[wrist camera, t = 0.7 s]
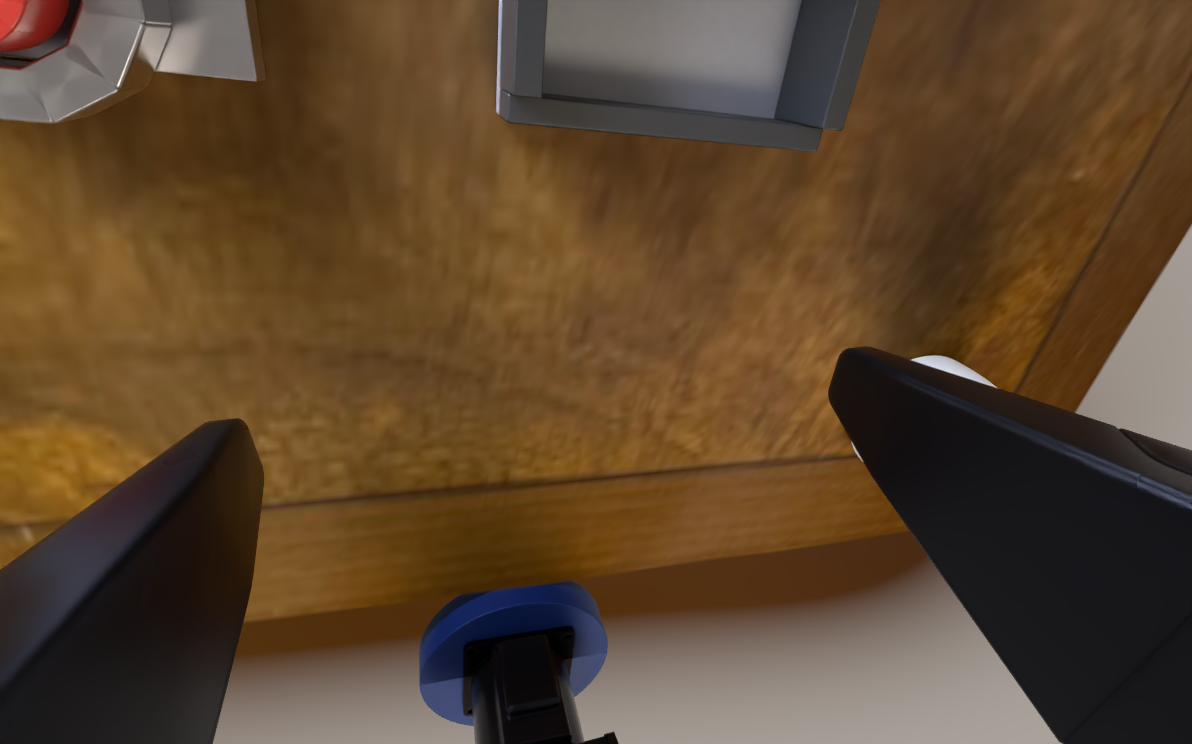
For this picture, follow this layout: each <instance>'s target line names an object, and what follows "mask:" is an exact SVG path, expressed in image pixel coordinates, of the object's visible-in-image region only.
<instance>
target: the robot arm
mask: <svg viewBox="0 0 1192 744" xmlns="http://www.w3.org/2000/svg"><path fill="white" fill-rule="evenodd" d="M828 396H829V401H830V404H831V406H832V408H833V409H834V411H835V413H836V415H837V416H838V418H839V420H840V422H841V423H842V425H843V427H844V429H845V430H846V432H847V434H848V436H849V437H850V439H851V441H852V443H853V445H854V446H855V448H856V450H857V452H858V453H859V455H860V457H861V459H862V460H863V462H864V464H865V466H866V467H867V469H868V471H869V472H870V474H871V476H872V477H873V479H874V480H875V482H876V483H877V485H878V486H879V487H880V489H881V490H882V492H883V493H884V495H885V496H886V497H887V499H888V500H889V502H890V503H891V504H892V506H893V507H894V509H895V510H896V512H897V513H898V514H899V516H900V517H901V519H902V520H903V521H904V523H905V524H906V526H907V527H908V529H909V530H910V531H911V533H912V534H913V535H914V537H915V538H916V540H917V541H918V543H919V544H920V546H921V547H922V548H923V550H924V551H925V552H926V554H927V555H928V557H929V558H930V560H931V561H932V562H933V564H934V565H935V567H936V568H937V569H938V571H939V572H940V574H941V575H942V577H943V578H944V580H945V581H946V582H947V584H948V585H949V586H950V588H951V589H952V591H953V592H954V594H955V595H956V596H957V598H958V599H959V601H960V602H961V603H962V605H963V606H964V608H965V609H966V610H967V612H968V613H969V615H970V616H971V617H972V619H973V620H974V622H975V623H976V625H977V626H978V627H979V629H980V630H981V632H982V633H983V635H984V636H985V637H986V639H987V640H988V642H989V643H990V645H991V646H992V647H993V649H994V650H995V652H996V653H997V654H998V656H999V657H1000V659H1001V660H1002V662H1003V663H1004V664H1005V666H1006V667H1007V669H1008V670H1009V672H1010V673H1011V674H1012V676H1013V677H1014V679H1015V680H1016V681H1017V683H1018V684H1019V686H1020V687H1021V688H1022V690H1023V691H1024V693H1025V694H1026V696H1027V697H1028V698H1029V700H1030V701H1031V702H1032V704H1033V705H1034V707H1035V708H1036V710H1037V711H1038V713H1039V714H1040V715H1041V717H1042V718H1043V720H1044V721H1045V722H1046V724H1047V725H1048V727H1049V728H1050V730H1051V731H1052V732H1053V734H1054V735H1055V737H1056V738H1057V739H1058V741H1059V742H1061V743H1063V744H1192V450H1189V449H1185V448H1182V447H1179V446H1176V445H1173V444H1169V443H1166V442H1163V441H1160V440H1157V439H1153V438H1150V437H1147V436H1144V435H1141V434H1137V433H1134V432H1132V431H1129V430H1125V429H1117V428H1116V427H1115V426H1113V425H1110V424H1107V423H1104V422H1100V421H1097V420H1094V419H1091V418H1088V417H1085V416H1082V415H1079V414H1076V413H1073V412H1070V411H1067V410H1063V409H1060V408H1057V407H1054V406H1051V405H1048V404H1045V403H1042V402H1039V401H1036V400H1033V399H1029V398H1026V397H1023V396H1020V395H1017V394H1014V393H1011V392H1008V391H1005V390H1002V389H999V388H995V387H992V386H989V385H986V384H983V383H980V382H977V381H974V380H971V379H968V378H965V377H961V376H958V375H955V374H952V373H949V372H946V371H943V370H940V369H937V368H934V367H931V366H927V365H924V364H921V363H918V362H915V361H912V360H909V359H906V358H903V357H900V356H897V355H893V354H890V353H887V352H884V351H881V350H878V349H875V348H872V347H865V346H864V347H856V348H848V349H846V350H844V351H843V352H842V353H841V354H840V356H839V358H838V361H837V364H836V367H835V371H834V374H833V377H832V380H831V383H830V386H829V390H828ZM263 487H264V472H263V467H262V464H261V461H260V458H259V455H258V453H257V450H256V447H255V445H254V442H253V439H252V436H251V434H250V431H249V428H248V426H247V425H246V423H245V422H244V421H243V420H241V419H239V418H235V419H226V420H218V421H209V422H206V423H204V424H202V425H201V426H199V427H198V428H197V429H195V430H194V431H192V432H191V433H190V434H188V435H187V436H186V437H184V438H183V439H181V440H180V441H179V442H177V443H176V444H174V445H173V446H172V447H170V448H169V449H167V450H166V451H165V452H163V453H162V454H161V455H159V456H158V457H156V458H155V459H154V460H152V461H151V462H149V463H148V464H147V465H145V466H144V467H143V468H141V469H140V470H138V471H137V472H136V473H134V474H133V475H131V476H130V477H129V478H127V479H126V480H124V481H123V482H122V483H120V484H119V485H118V486H116V487H115V488H113V489H112V490H111V491H109V492H108V493H106V494H105V495H104V496H102V497H101V498H99V499H98V500H97V501H95V502H94V503H93V504H91V505H90V506H88V507H87V508H86V509H84V510H83V511H81V512H80V513H79V514H77V515H76V516H74V517H73V518H72V519H70V520H69V521H68V522H66V523H65V524H63V525H62V526H61V527H59V528H58V529H56V530H55V531H54V532H52V533H51V534H49V535H48V536H47V537H45V538H44V539H43V540H41V541H40V542H38V543H37V544H36V545H34V546H33V547H31V548H30V549H29V550H27V551H26V552H24V553H23V554H22V555H20V556H19V557H17V558H16V559H15V560H13V561H12V562H11V563H9V564H8V565H6V566H5V567H4V568H2V569H1V570H0V744H213V740H214V736H215V732H216V728H217V724H218V720H219V716H220V712H221V708H222V704H223V701H224V697H225V693H226V689H227V685H228V681H229V677H230V673H231V669H232V665H233V661H234V657H235V653H236V648H237V644H238V641H239V636H240V633H241V628H242V625H243V621H244V617H245V613H246V609H247V605H248V600H249V596H250V591H251V586H252V580H253V573H254V565H255V556H256V548H257V539H258V530H259V522H260V513H261V504H262V496H263ZM575 638H576V634H575V630H574V628H573V627H572V626H563V627H556V628H550V629H544V630H538V631H531V632H525V633H519V634H513V635H506V636H500V637H494V638H487V639H481V640H475V641H470V642H468V643H466V644H465V645H464V646H463V714H464V715H465V716H468V717H469V716H473V722H474V735H475V744H618V741H617V738H616V736H615V733H614V732H611V733H607V734H604V736H603V737H600V738H596V739H592V740H589V741H585V742H584V738H583V734H582V729H581V726H580V721H579V717H578V713H577V708H576V704H575V700H574V696H573V692H572V688H571V683H570V673H571V666H572V659H573V652H574V645H575Z"/></svg>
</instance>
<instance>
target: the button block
mask: <svg viewBox="0 0 1192 744" xmlns="http://www.w3.org/2000/svg"><path fill="white" fill-rule="evenodd" d="M1 56H5V57H15V58H25V59H35V60H34V61H32V62H29V61H19V60H9V59H4V58H3V57H1ZM154 72H163V73H173V74H183V75H192V76H202V77H212V78H222V79H232V80H242V81H251V82H257V81H262V80H266V73H265V66H264V59H263V52H262V45H261V38H260V31H259V24H258V17H257V10H256V3H255V0H69V4H68V9H67V13H66V16H65V18H64V20H63V23H62V25H61V26H60V27H59V29H58V30H57V32H56V33H55V34H54V35H53V36H52V37H50V38H49V39H48V40H46V41H45V42H43V43H42V44H40V45H38V46H35V47H33V48H30V49H25V50H21V51H11V52H0V120H8V121H21V122H34V123H47V124H54V123H62V122H66V121H71V120H75V119H80V118H84V117H89V116H93V115H94V114H96V113H98V112H100V111H102V110H104V109H106V108H108V107H110V106H112V105H114V104H116V103H118V102H120V101H122V100H124V99H126V98H128V97H130V96H132V95H134V94H135V93H137V92H139V91H141V90H143V89H145V88H146V87H147V85H148V84H149V83H150V80H151V78H152V75H153V73H154Z"/></svg>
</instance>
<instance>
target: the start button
mask: <svg viewBox="0 0 1192 744" xmlns="http://www.w3.org/2000/svg"><path fill="white" fill-rule="evenodd" d="M68 4H69V0H0V52H11V51H21V50H25V49H30V48H33V47H35V46H38V45H40V44H42V43H43V42H45V41H46V40H48V39H49V38H50V37H52V36H53V35H54V34H55V33H56V32H57V30H58V29H59V27H60V26H61V25H62V23H63V20H64V18H65V16H66V13H67V9H68Z"/></svg>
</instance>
